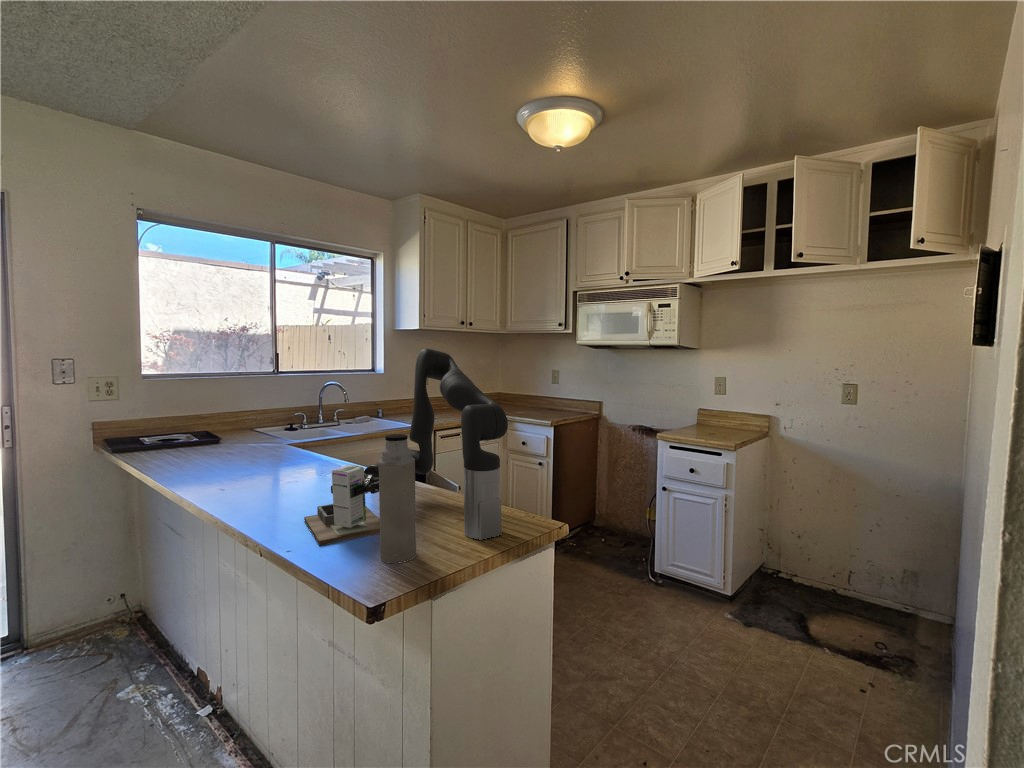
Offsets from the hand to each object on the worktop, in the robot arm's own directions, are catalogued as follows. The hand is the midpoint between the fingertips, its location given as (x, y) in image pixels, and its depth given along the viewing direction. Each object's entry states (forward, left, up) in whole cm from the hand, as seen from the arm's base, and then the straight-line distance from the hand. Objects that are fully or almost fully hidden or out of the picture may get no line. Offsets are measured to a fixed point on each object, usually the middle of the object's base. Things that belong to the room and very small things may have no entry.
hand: (342, 491), depth 124 cm
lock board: (+6, -2, -11) cm, 13 cm away
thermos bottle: (-20, -7, -12) cm, 24 cm away
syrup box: (+2, -2, -9) cm, 10 cm away
